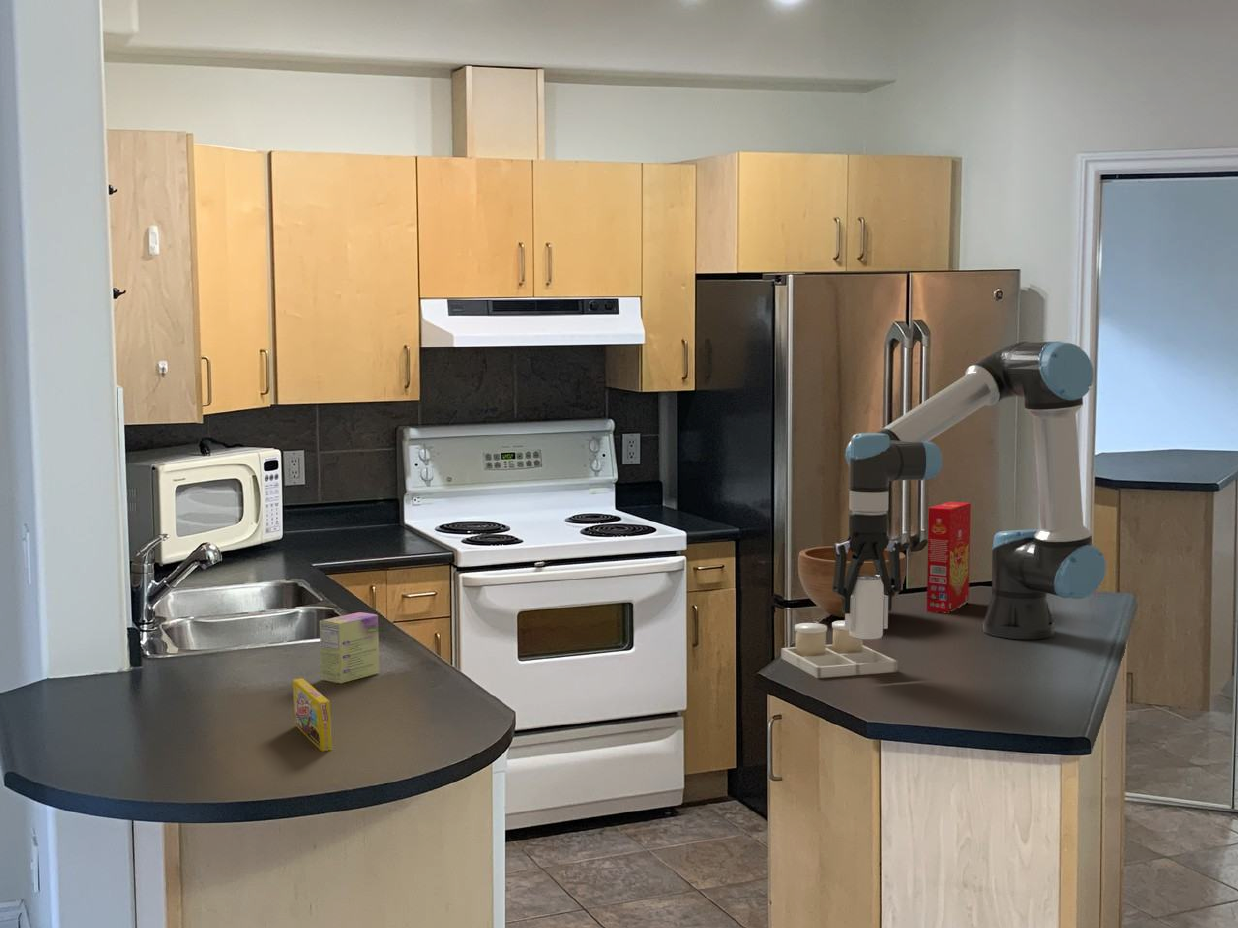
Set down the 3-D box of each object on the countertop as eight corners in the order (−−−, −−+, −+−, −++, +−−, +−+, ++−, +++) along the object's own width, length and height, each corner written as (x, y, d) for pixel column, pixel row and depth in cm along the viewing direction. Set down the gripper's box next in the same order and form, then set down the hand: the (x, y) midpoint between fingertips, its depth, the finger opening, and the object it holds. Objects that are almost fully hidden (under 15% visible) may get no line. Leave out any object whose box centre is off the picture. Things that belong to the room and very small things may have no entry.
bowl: (915, 628, 306) (916, 562, 304) (804, 628, 306) (804, 562, 305) (894, 607, 330) (895, 545, 329) (791, 606, 331) (792, 545, 329)
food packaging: (947, 613, 322) (950, 509, 320) (926, 611, 325) (928, 507, 323) (968, 603, 335) (970, 503, 332) (947, 601, 338) (949, 501, 335)
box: (359, 669, 269) (358, 610, 268) (380, 673, 266) (379, 614, 265) (319, 680, 261) (318, 619, 260) (340, 684, 257) (339, 623, 256)
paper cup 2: (854, 653, 280) (855, 619, 279) (868, 660, 274) (869, 625, 273) (826, 656, 278) (826, 621, 277) (840, 663, 272) (840, 627, 271)
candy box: (293, 726, 230) (292, 678, 229) (305, 725, 231) (304, 677, 230) (319, 752, 216) (318, 701, 215) (333, 750, 217) (331, 699, 216)
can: (848, 639, 265) (849, 578, 264) (849, 632, 271) (851, 573, 270) (882, 641, 264) (883, 580, 263) (882, 634, 270) (884, 574, 269)
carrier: (857, 653, 281) (857, 642, 281) (897, 673, 265) (897, 661, 265) (780, 659, 277) (781, 648, 276) (817, 679, 260) (817, 667, 260)
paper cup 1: (818, 656, 277) (818, 621, 277) (831, 663, 271) (832, 628, 271) (789, 658, 276) (789, 623, 275) (802, 666, 270) (802, 630, 269)
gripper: (903, 508, 272) (901, 621, 274) (814, 511, 266) (813, 627, 268) (922, 512, 264) (919, 629, 266) (831, 516, 259) (829, 635, 261)
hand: (866, 628), depth 267 cm, fingers closed on can, 6 cm apart
